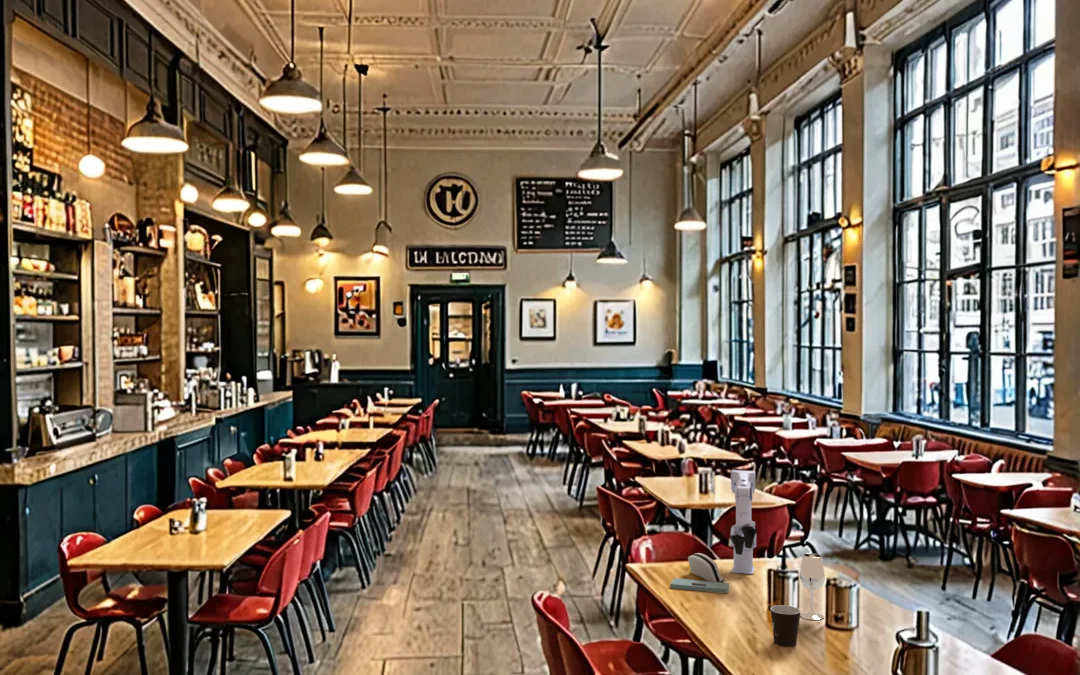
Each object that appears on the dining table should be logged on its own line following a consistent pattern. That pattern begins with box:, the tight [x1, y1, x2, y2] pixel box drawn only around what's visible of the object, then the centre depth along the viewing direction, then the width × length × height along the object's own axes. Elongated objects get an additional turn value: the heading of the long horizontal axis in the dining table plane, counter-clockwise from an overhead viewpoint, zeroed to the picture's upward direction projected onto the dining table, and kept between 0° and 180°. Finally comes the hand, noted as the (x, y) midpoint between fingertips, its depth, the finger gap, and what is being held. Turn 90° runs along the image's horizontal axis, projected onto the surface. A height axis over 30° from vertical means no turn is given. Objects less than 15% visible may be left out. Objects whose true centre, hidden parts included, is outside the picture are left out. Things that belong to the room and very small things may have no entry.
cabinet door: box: [670, 577, 730, 594], centre depth 315 cm, size 8×20×2 cm, turn 72°
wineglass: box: [799, 552, 826, 621], centre depth 283 cm, size 8×8×20 cm
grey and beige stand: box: [687, 552, 726, 583], centre depth 328 cm, size 17×5×10 cm, turn 21°
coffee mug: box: [770, 604, 802, 648], centre depth 260 cm, size 12×9×10 cm
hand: (743, 551), depth 320 cm, fingers open, 7 cm apart
